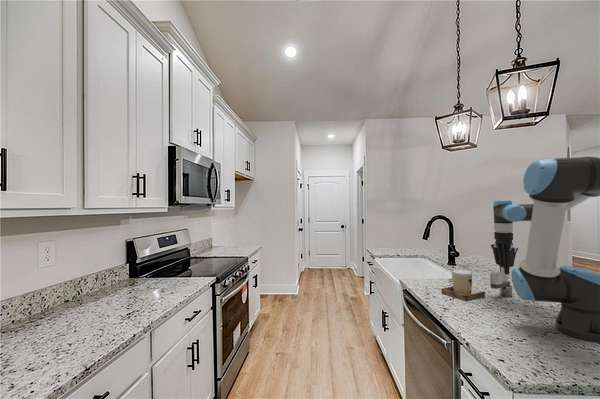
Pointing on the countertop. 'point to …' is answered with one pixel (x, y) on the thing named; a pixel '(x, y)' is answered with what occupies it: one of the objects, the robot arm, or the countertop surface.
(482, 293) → the brown u-shaped wooden bracket
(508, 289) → the pedestal
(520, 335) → the countertop surface
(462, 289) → the coffee cup
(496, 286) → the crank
